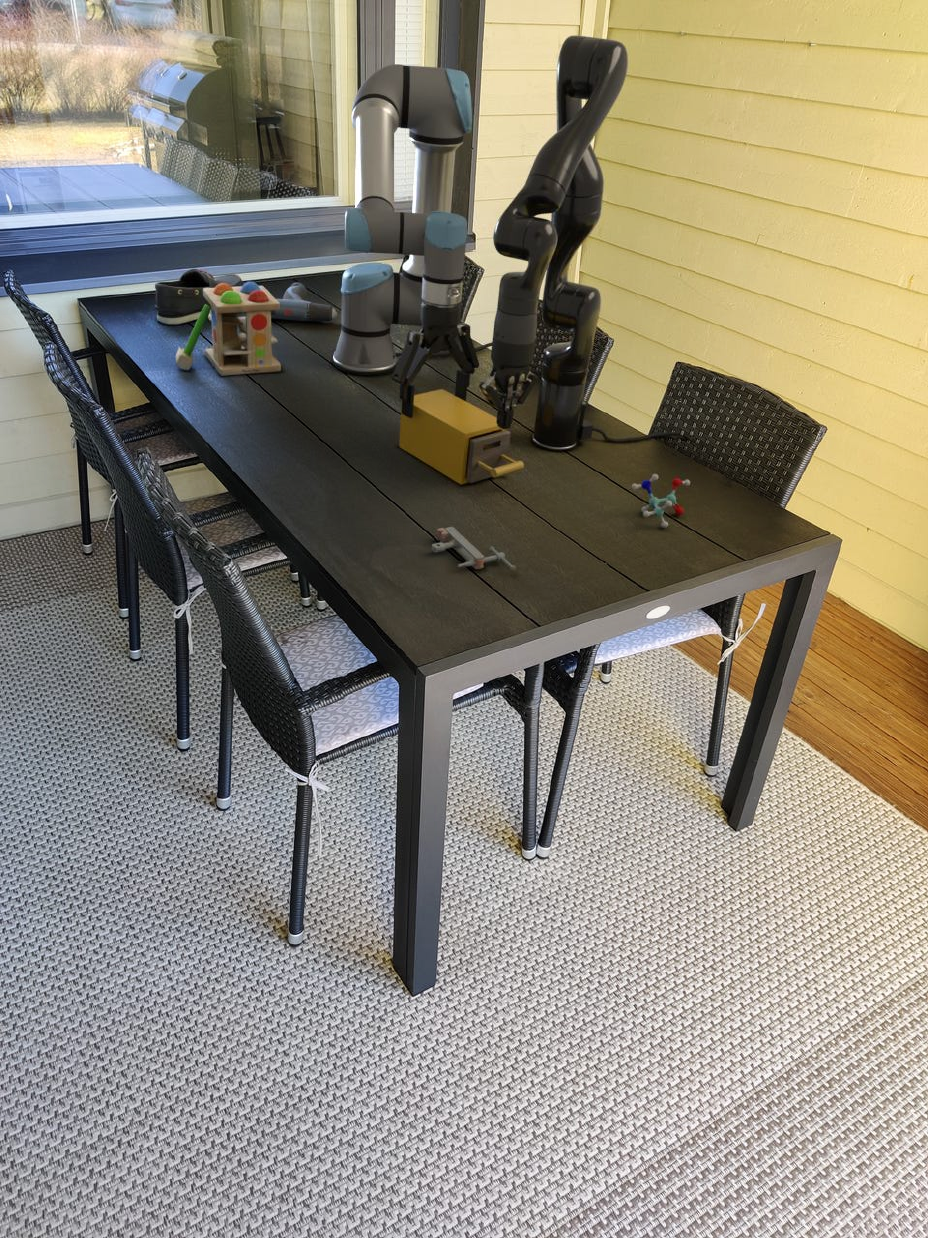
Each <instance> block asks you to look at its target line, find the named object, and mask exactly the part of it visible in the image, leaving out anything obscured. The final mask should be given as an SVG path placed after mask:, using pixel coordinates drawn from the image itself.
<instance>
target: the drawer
mask: <svg viewBox="0 0 928 1238" xmlns="http://www.w3.org/2000/svg"><path fill="white" fill-rule="evenodd" d="M510 441H511V431H509V430H507V429H506V430H505V431H502V432H498V433H497V430H496V431H492V432H489V433H485V434H481V435H478V436H474V437H470V438H469V443H468V454H467V465H466V474H467V480H466V481H467V482H468V483H469V484H473V483H477V482H479V481H482V480H486V479H489V478H494V479H496V478H498V477H503V476H505V475H509V474H511V473H512V474H513V473H515V472H518V471H521V470H524V468H525V464H524V462H523V461H522V460H517V461H516V460H514V459H512V458H511V457H509V448H510Z"/></svg>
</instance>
